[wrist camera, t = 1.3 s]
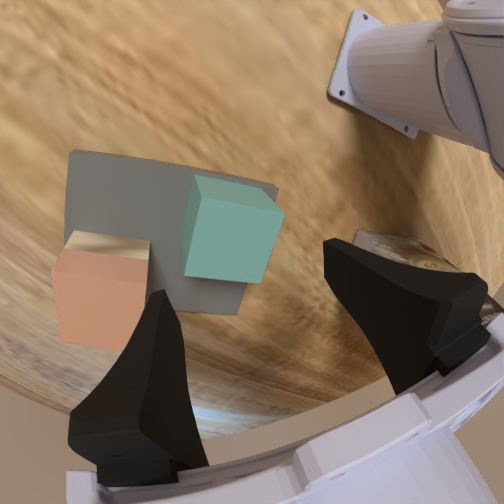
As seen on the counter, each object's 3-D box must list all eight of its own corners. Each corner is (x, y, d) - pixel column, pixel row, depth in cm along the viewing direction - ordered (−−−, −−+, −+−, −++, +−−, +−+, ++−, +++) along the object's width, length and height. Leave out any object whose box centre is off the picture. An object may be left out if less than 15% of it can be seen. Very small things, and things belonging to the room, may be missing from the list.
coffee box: (419, 235, 27) (530, 329, 14) (397, 286, 30) (488, 385, 17) (355, 227, 24) (492, 356, 11) (333, 288, 27) (433, 423, 14)
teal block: (260, 188, 19) (285, 213, 15) (242, 247, 21) (259, 283, 17) (194, 174, 17) (201, 197, 14) (180, 238, 19) (184, 275, 16)
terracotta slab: (148, 260, 17) (146, 284, 15) (141, 326, 19) (140, 352, 17) (63, 248, 15) (51, 270, 13) (68, 316, 17) (61, 341, 15)
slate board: (273, 184, 20) (278, 188, 19) (233, 307, 25) (236, 315, 24) (74, 149, 15) (69, 152, 14) (70, 288, 20) (67, 296, 19)
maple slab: (150, 241, 19) (148, 260, 17) (142, 304, 21) (141, 326, 19) (74, 230, 17) (63, 248, 15) (75, 295, 19) (68, 316, 17)
